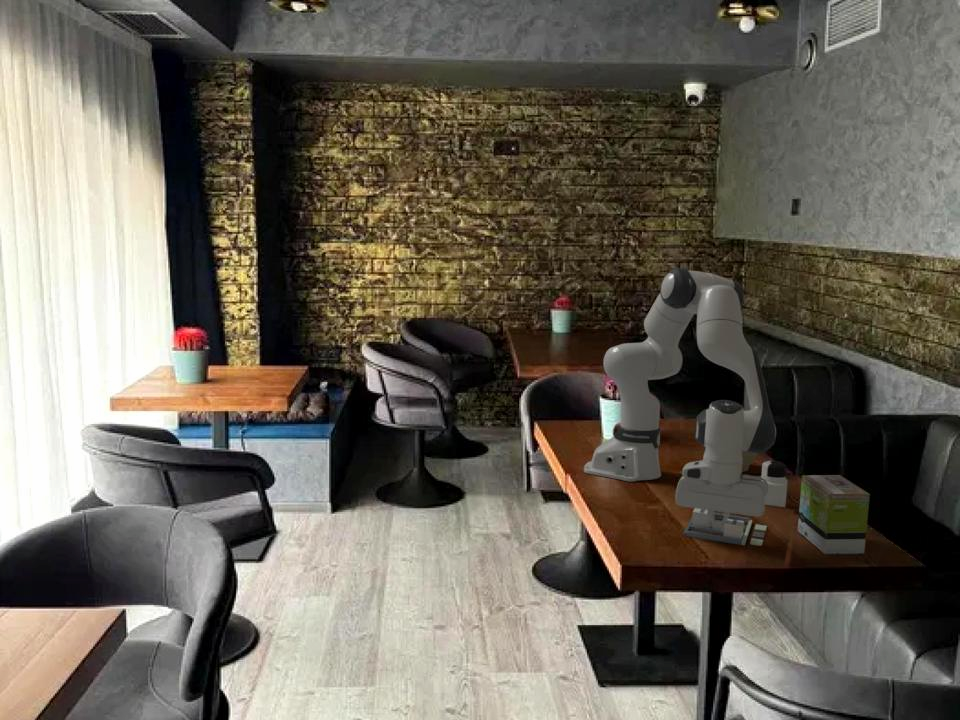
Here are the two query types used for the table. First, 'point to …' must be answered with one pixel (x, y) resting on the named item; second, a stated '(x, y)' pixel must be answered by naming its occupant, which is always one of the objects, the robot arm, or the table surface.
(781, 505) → the medicine bottle
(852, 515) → the tea box
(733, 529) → the tab
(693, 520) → the white slotted cube
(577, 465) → the table surface
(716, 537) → the switch bank
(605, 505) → the table surface
